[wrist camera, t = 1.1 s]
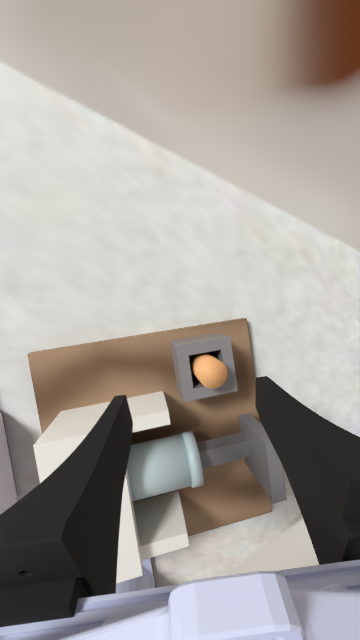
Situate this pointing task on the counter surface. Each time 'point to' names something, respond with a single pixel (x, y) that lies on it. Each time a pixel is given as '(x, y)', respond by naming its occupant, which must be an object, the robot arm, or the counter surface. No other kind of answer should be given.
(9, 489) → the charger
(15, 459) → the counter surface
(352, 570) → the robot arm
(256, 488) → the mounting board
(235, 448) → the grey and blue plunger
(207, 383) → the orange rounded peg
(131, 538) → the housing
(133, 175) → the counter surface
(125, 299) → the counter surface
